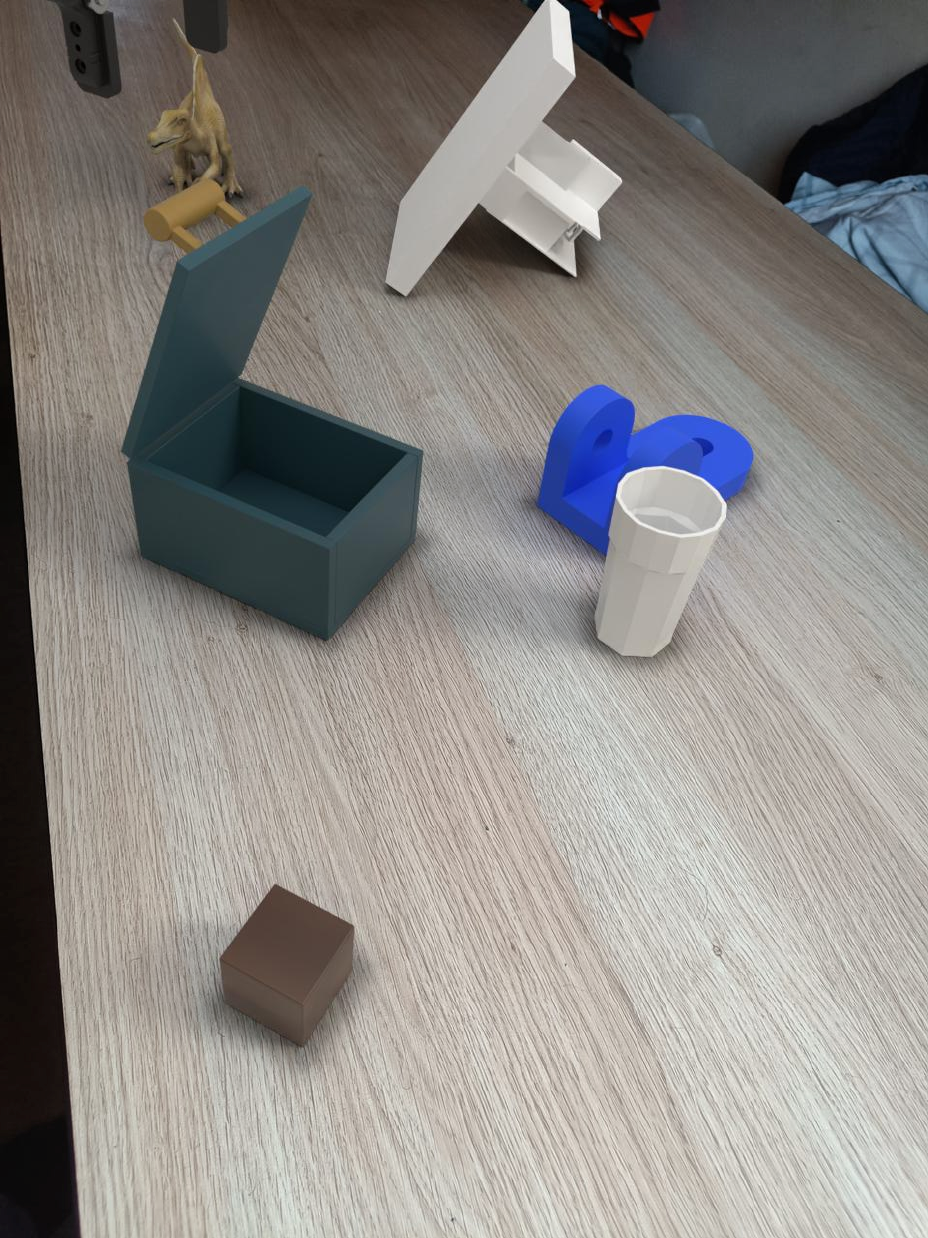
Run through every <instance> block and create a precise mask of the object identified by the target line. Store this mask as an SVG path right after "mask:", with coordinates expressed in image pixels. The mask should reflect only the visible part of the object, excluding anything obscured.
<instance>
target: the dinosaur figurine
mask: <svg viewBox="0 0 928 1238" xmlns="http://www.w3.org/2000/svg"><path fill="white" fill-rule="evenodd" d="M171 19H172V22H173V25H174V28H175V30H176V32H177V35H178V37H179V39H180V41H181V43H182V44H183V47H184V48H185V51H186V53H187V54H188V56H189V59H190V62H191V65H192V85H191V90H190V91H189V93H188V94H187V95H186V96H185V98H184V99H183V100H182V101H181V102H180V105H179V107H178V109H169V108H166V109H165V110H164V111H162V113H161V118H160V120H159V123H158V124H157V125H156V126H155V127H154V128H152V129H151V130H149V131H148V132H147V134H146V138H145V139H146V143H147V144H148V145H150V147H149V153H151V154H152V155H159V154H161V153H162V152H163V151H165V150H168V149H170V148H173V149H174V151H173V159H174V161H173V164H172V167H171V169H172V176H170V178H169V180H168V185H171V184H174V193H173V196H174V195H176V194H178V193H180V192H181V191H183V190H184V184H185V183H186V185H187V188H189V187H191V186H193V185H195V184H196V183H198V182H200V181H202V180H204V179H211V180H213V181H214V180H215V179H216V177H218V176H219V174H220V177H221V178H223V182H222V185H220V187H221V188H222V190H223V192H224V195H225V194H226V193H227V195H228V197H229V199H233V198H234V195H235V194H236V195H238V196H239V197H241V198H243V196H244V191H243V189H242V187H241V186H240V184H239V182H238V181H237V180H238V179H237V178H236V173H235V172H236V171H235V159H234V156H233V148H232V146H231V145H230V144H229V143H227V127H226V126H227V125H226V121H225V116H224V114H223V112H222V108H221V107H220V105H219V104H218V102H217V100H215V97H214V94H213V91H212V88H211V84H210V80H209V78H208V74H207V71H206V69H205V65H204V60H203V57H202V55H201V54H200V53H197V52H196V49H195V48H194V47H192V46H190V45H189V43H188V42H187V39H186V35H185V33H184V32H183V31H182V28H181V27H180V25H179V23H178V22H177V20H176V19H175V18H174V17H172V18H171ZM201 156H202V157H206V159H207V162H208V163H209V166H208V167H207V168H206V169H205V171H204V172H203V173H202V174H201V176H198V177H196V178H194V180H193V178H192V177H193V176H192V170H194V171H195V170H196V169H197V167H196V163H195V161H194V159H199V158H200V157H201ZM193 158H194V159H193ZM220 158H221V169H220Z"/></svg>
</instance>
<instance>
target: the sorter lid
mask: <svg viewBox="0 0 928 1238" xmlns="http://www.w3.org/2000/svg"><path fill="white" fill-rule="evenodd" d="M313 195H314V193H313V191H311V190H310V189H308V188H307V187H306V186H305V185H303V184H302V185H300V186H299V187H297V188H296V189H293V190H292V191H290V192H289V193H287V194H285V195H284V196H282V197H280V198H279V199H277V200H275V201H274V202H272V203H270V204H269V205H267V206H266V207H264V208H262V209H260V210H259V211H257V212H255V213H254V214H253V215H250V216H249V217H246V216H244V215H243V214H242V213H241V212H239V211H238V210H237V209H236V208H234V207H233V206H232V205H230V204H229V203H228V202H227V201H226V196H225V194H224V192H223V190H222V188H221V185H220V184H219V183H218V182H216V181H215V180H214V179H213V180H211V179H204V180H202V181H200V182H198V183H196V184H195V185H193V186H191V187H187V188H185V189H183V191H181V192H180V193H178V194H176V195H174V194H173V195H172V196H170V197H168V198H167V199H165V200H163V201H161V202H159V203H156V204H155V205H153V206H152V207H149V208H148V209H146V210H145V212H144V214H143V219H142V220H143V224H144V225H143V226H144V228H145V230H146V232H147V234H148V235H149V236H150V237H151V238H152V239H153V240H155V241H157V242H160V243H166V242H168V241H169V240H170V242H172V243H174V244H175V245H176V246H177V247H178V248H180V249H181V250H182V251H184V252H185V253H186V254H185V255H184V256H182V257H181V258H178V259H177V260H176V262H175V265H174V269H173V272H172V276H171V279H170V282H169V286H168V290H167V293H166V296H165V300H164V303H163V305H162V306H163V307H162V309H161V312H160V317H159V320H158V323H157V327H156V330H155V332H154V333H155V334H154V337H153V341H152V344H151V347H150V351H149V354H148V357H147V361H146V363H145V368H144V371H143V374H142V378H141V381H140V383H139V388H138V392H137V395H136V397H135V398H136V399H135V401H134V405H133V409H132V411H131V415H130V419H129V421H128V426H127V428H126V431H125V435H124V438H123V443H122V446H121V449H120V453H122V454H123V455H124V456H126V457H127V458H128V460H130V459H132V458H133V457H134V456H136V455H137V454H138V453H140V452H141V451H142V450H144V449H145V448H146V447H148V446H149V445H150V444H151V443H153V442H154V441H155V440H157V439H158V438H159V437H161V436H162V435H163V434H165V433H166V432H167V431H168V430H170V429H171V428H172V427H174V426H175V425H176V424H178V423H179V422H180V421H182V420H183V419H184V418H185V417H187V416H188V415H189V414H191V413H192V412H193V411H195V410H196V409H197V408H199V407H200V406H201V405H202V404H204V403H205V402H206V401H208V400H209V399H210V398H212V397H213V396H214V395H216V394H217V393H218V392H220V391H221V390H222V389H223V388H225V387H226V386H227V385H229V384H230V383H231V382H233V381H234V380H235V379H237V378H240V377H241V376H242V374H243V372H244V370H245V368H246V364H247V362H248V360H249V357H250V354H251V352H252V349H253V346H254V344H255V342H256V339H257V337H258V334H259V331H260V329H261V327H262V324H263V321H264V319H265V317H266V314H267V312H268V309H269V306H270V304H271V302H272V298H273V297H274V294H275V292H276V289H277V287H278V284H279V281H280V280H281V279H280V278H281V276H282V273H283V271H284V270H285V269H284V268H285V266H286V263H287V260H288V259H289V256H290V253H291V250H292V248H293V246H294V243H295V240H296V238H297V235H298V233H299V231H300V228H301V225H302V223H303V220H304V218H305V215H306V212H307V210H308V207H309V205H310V203H311V200H312V198H313ZM213 215H215V216H217V217H218V218H219V219H220V220H221V221H223V222H224V223H225V224H227V225H228V226H229V227H230V228H229V229H228V230H226V231H224V232H222V233H221V234H219V235H217V236H215V237H214V238H212V239H211V240H209V241H207V242H206V243H202V242H201V241H200V240H199V239H197V238H196V237H195V236H194V235H192V234H191V233H190V232H188V230H189V229H191V228H192V227H194V226H196V225H198V224H199V223H201V222H203V221H204V220H206V219H208V218H210V217H211V216H213Z"/></svg>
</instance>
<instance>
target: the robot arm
mask: <svg viewBox="0 0 928 1238" xmlns="http://www.w3.org/2000/svg"><path fill="white" fill-rule="evenodd" d="M47 2H51V3H54V4H56V5H57V6H58V9H59V11H60V14H61V18H62V26H63V27H62V28H63V33H64V40H65V46H66V48H67V49H66V53H67V57H68V59H67V61H68V67H69V72H70V74H71V76H72V78H73V81H75V82H76V84H77V86H78V87H79V89H81V91H83V92H84V93H85V92H86V93H88V94H91V95H94V96H97V97H100V98H104V99H110V98H113V97H115V96H117V95H120V94H121V92H122V89H123V85H122V77H121V67H120V60H119V59H120V58H119V51H118V43H117V42H118V41H117V34H116V26H115V17H114V12H113V11H109V10H108V9H109V6H110V2H111V0H47ZM182 8H183V19H184V35H185V37H186V39H187V42H188V43H189V45H190V46H192V47H193V48H194V49H197V50H200V51H204V52H207V53H210V54H218V53H220V52H222V51H225V50H226V49H227V48H228V31H229V14H228V11H229V9H228V8H229V7H228V0H182Z"/></svg>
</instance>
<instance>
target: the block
mask: <svg viewBox="0 0 928 1238" xmlns="http://www.w3.org/2000/svg"><path fill="white" fill-rule="evenodd" d="M355 927H356V926H355V925H354V924H352V923H350V922H348V921H347V920H345V919H342V918H341V917H339V916H337V915H335V914H333V913H331V912H330V911H328V910H326V909H324V908H322V907H320V906H318V905H316V904H315V903H312V902H310V901H309V900H306V899H305V898H303V897H301V896H300V895H297V894H296V893H294V892H292V891H289V890H288V889H286V888H284V887H282V886H281V885H279V884H277V883H274V884H273V885H272V887H271V888H270V889H269V891H268V892H267V893H266V895H265V896H264V898H263V899H262V900H261V901H260V903H259V904H258V906H257V907H256V908H255V909H254V911H253V913H252V914H251V915H250V916H249V918H248V919H246V922H245V923H244V924H243V926H242V927H241V928H240V930H239V931H238V932H237V934H236V935H235V936H234V938H233V939H232V941H230V943H229V945H228V946H227V947H226V948H225V950H224V951H223V953H222V954H221V955H220V956H219V958H218V960H219V967H220V975H221V976H220V977H221V983H222V993H223V999H224V1004H226V1005H228V1006H230V1007H232V1008H233V1009H235V1010H237V1011H239V1012H240V1013H242V1014H243V1015H245V1016H248V1018H250V1019H253V1020H254V1021H256V1022H258V1023H259V1024H261V1025H263V1026H265V1027H266V1028H268V1029H270V1030H272V1031H274V1032H275V1033H277V1034H279V1035H281V1036H282V1037H284V1038H286V1039H287V1040H289V1041H291V1042H293V1043H294V1044H296V1045H297V1046H300V1047H302V1048H304V1047H305V1045H306V1044H307V1043H308V1041H309V1039H310V1038H311V1036H312V1034H313V1033H314V1031H315V1029H316V1028H317V1027H318V1025H319V1023H320V1022H321V1020H322V1019H323V1017H324V1015H325V1014H326V1012H327V1011H328V1009H329V1008H330V1006H331V1004H332V1003H333V1001H334V1000H335V998H336V997H337V995H338V993H339V992H340V990H342V989H341V988H342V987H343V986H344V984H345V983H346V981H347V979H348V977H349V976H350V975H351V974H352V972H353V961H354V959H353V958H354V946H355V945H354V944H355V943H354V941H355Z"/></svg>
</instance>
